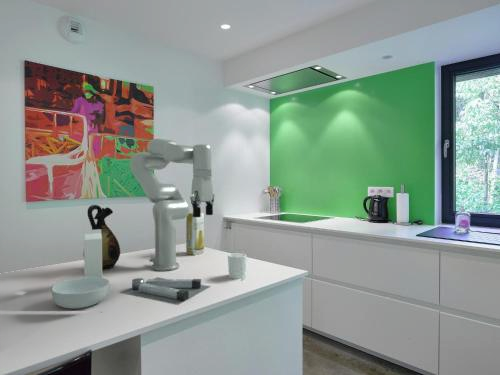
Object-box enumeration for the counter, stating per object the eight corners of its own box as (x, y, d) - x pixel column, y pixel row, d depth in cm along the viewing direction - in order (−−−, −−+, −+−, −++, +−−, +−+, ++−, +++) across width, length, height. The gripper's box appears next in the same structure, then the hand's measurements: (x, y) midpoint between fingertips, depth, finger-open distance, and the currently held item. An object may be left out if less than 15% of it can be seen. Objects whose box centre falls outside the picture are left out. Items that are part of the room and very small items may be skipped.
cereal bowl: (49, 320, 96) (49, 296, 96) (53, 301, 111) (53, 280, 111) (111, 309, 104) (111, 287, 104) (107, 293, 119) (107, 274, 119)
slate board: (119, 295, 117) (119, 292, 117) (157, 279, 135) (157, 277, 135) (178, 307, 106) (178, 304, 106) (210, 289, 124) (210, 286, 124)
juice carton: (194, 256, 176) (194, 211, 175) (184, 254, 180) (183, 211, 180) (206, 252, 184) (206, 210, 183) (195, 251, 188) (195, 209, 187)
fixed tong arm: (138, 291, 117) (138, 284, 117) (143, 289, 119) (143, 282, 119) (183, 300, 108) (183, 293, 108) (188, 298, 111) (188, 290, 111)
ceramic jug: (104, 263, 160) (103, 202, 159) (127, 267, 153) (127, 204, 152) (72, 272, 144) (71, 205, 144) (96, 277, 138) (95, 206, 137)
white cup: (244, 282, 132) (244, 257, 132) (225, 280, 134) (225, 256, 134) (248, 276, 140) (248, 253, 140) (230, 275, 142) (230, 252, 141)
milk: (102, 287, 125) (102, 230, 125) (84, 289, 122) (84, 231, 122) (100, 282, 131) (100, 228, 130) (84, 284, 128) (83, 229, 127)
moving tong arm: (130, 289, 119) (130, 281, 119) (135, 285, 124) (135, 277, 124) (198, 290, 119) (198, 281, 119) (200, 285, 124) (200, 277, 124)
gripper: (205, 175, 144) (206, 214, 144) (182, 174, 128) (183, 217, 128) (220, 174, 141) (221, 214, 141) (199, 173, 125) (200, 218, 125)
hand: (203, 216), depth 135 cm, fingers open, 9 cm apart
